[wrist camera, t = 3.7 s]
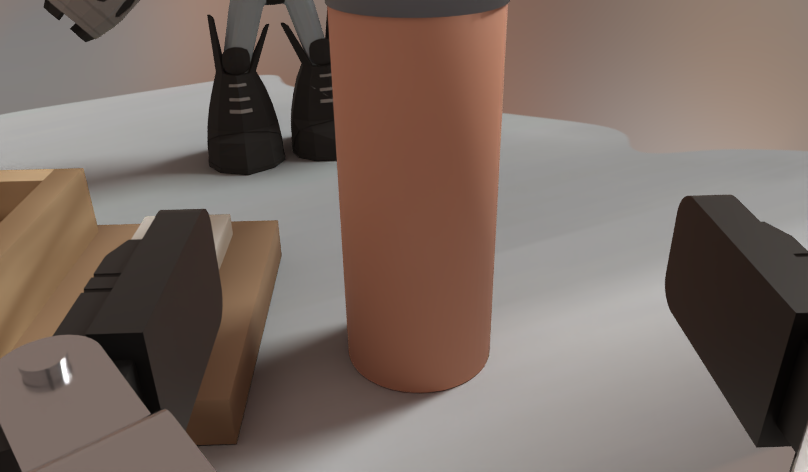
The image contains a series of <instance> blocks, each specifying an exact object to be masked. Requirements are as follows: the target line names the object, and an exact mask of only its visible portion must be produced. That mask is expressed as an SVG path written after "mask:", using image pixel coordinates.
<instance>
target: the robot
mask: <svg viewBox="0 0 808 472" xmlns="http://www.w3.org/2000/svg"><path fill="white" fill-rule="evenodd" d="M139 1H140V0H45V3H44V8H45V9H46V10H47V11H48V12H49V13H51V14H52V15H53V16H54V17H55V18H57V19H58V20H60V19H61V17H62V16H63V15H64V14H65V15H67V16H68V17H69V18H70V19H71V20H73V21H74V22H75V24H74V26H72V27H71V28H70V29H71V30H72V31H73V32H74V33H76V34H77V35H78V36H79V37H80V38H81V39H82V40H84V41H85V42H87V41H90V40H93V39H97V38H99V37H100V36H101V35H103V34H104V33H106V32H107V31H109V30H110V29H112V28H113V27H115V26H116V25H117V24H118V23H119V22H121V21H122V20H123V19H124V18H125V16H126V15H127V14H128V13H129V12H130V11H131V10H132V8H133V7H134V6H135V5H136V4H137V3H138V2H139ZM282 3H284V4H285V5H286V7H287V10H288V12H289V15H290V17H291V19H292V22H293V24H294V27H295V30H296V32H297V35H298V37H299V40H300V42H301V44H302V47H303V48H302V47H301V45H300V44H299V42H298V40H297V39H296V37H295V36H294V34H293V32H292V31H291V29H290V28H289V26H288V25H286V24H285V23H281V25H282V27H283V29H284V31H285V33H286V35H287V37H288V39H289V40H290V42H291V44H292V46H293V48H294V50H295V52H296V53H297V55H298V57H299V59H300V61H301V63H302V64H301V66H300V69H299V72H298V75H297V78H296V83H295V88H294V93H293V100H292V109H291V132H292V147H293V152H294V153H295V154H296V155H297V156H298V157H301V158H306V159H311V160H316V161H323V160H337V154H336V138H335V122H334V106H333V90H332V74H331V58H330V42H329V26H328V10H327V21H326V37H325V38H324V35H323V31H322V28H321V25H320V21H319V18H318V14H317V12H316V8H315V4H314V2H313V0H230V5H229V11H228V21H227V29H226V37H225V46H224V52H223V54H222V52H221V48H220V44H219V40H218V36H217V32H216V27H215V22H214V19H213V17H212V16H211V15H207V16H208V23H209V29H210V36H211V43H212V49H213V56H214V61H215V69H216V75H215V79H214V84H213V89H212V94H211V100H210V106H209V115H208V152H209V165H210V167H212V168H214V169H216V170H217V171H219V172H223V173H234V174H246V175H249V174H253V173H256V172H260V171H263V170H267V169H270V168H274V167H276V166H277V165H278V164H280V163H281V162H282V161H283V160H285V154H284V149H283V141H282V136H281V131H280V127H279V123H278V119H277V116H276V113H275V110H274V107H273V104H272V102H271V99H270V97H269V95H268V92H267V90H266V88H265V86H264V84H263V82H262V81H261V79H260V77H259V75H258V74H257V72H256V68H257V65H258V62H259V58H260V54H261V51H262V48H263V44H264V40H265V37H266V34H267V30H268V26H269V24H266V25H265V27H264V28H263V30H262V33H261V36H260V39H259V41H258V43H257V46H256V48H255V50H254V45H255V41H256V36H257V31H258V27H259V23H260V18H261V13H262V9H263V6H264V5H275V4H282ZM253 50H254V52H253Z"/></svg>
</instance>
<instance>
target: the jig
mask: <svg viewBox="0 0 808 472" xmlns="http://www.w3.org/2000/svg"><path fill="white" fill-rule="evenodd" d="M209 216H210V220H211V225H212V231H213V237H214V243H215V250H216V256H217V262H218V268H219V274H220V280H221V287H222V297H223V309H222V319H221V324H220V327H219V330H218V333H217V337H216V340H215V343H214V346H213V349H212V352H211V355H210V358H209V361H208V364H207V367H206V370H205V373H204V376H203V379H202V383H201V386H200V389H199V392H198V395H197V398H196V401H195V404H194V407H193V410H192V413H191V416H190V419H189V422H188V425H187V429H186V433H187V434H188V435H189V437H190V438H191V439H192V440H193V442H194V443H195V444H196V445H214V444H237V440H238V435H239V431H240V427H241V423H242V419H243V414H244V410H245V406H246V402H247V398H248V393H249V389H250V385H251V381H252V377H253V373H254V368H255V364H256V360H257V356H258V352H259V347H260V343H261V339H262V335H263V331H264V327H265V322H266V318H267V314H268V310H269V306H270V301H271V297H272V293H273V289H274V285H275V281H276V276H277V272H278V268H279V264H280V260H281V255H282V254H281V245H280V236H279V227H278V220H275V221H237V222H231V217H230V214H222V215H209ZM154 218H155V216H146V217H145V218H144V220H143V221H142V223H141V224H123V225H97V222H96V218H95V214H94V210H93V206H92V202H91V198H90V194H89V190H88V185H87V181H86V177H85V173H84V169H83V168H76V169H35V170H0V359H1V358H2V357H3V356H5V355H6V354H8V353H9V352H11V351H13V350H14V349H16V348H18V347H20V346H22V345H25V344H27V343H30V342H32V341H35V340H38V339H42V338H46V337H51V336H53V334H54V333H55V331H56V330H57V328H58V327H59V325H60V324H61V322H62V321H63V319H64V318H65V316H66V315H67V313H68V312H69V310H70V309H71V307H72V306H73V304H74V303H75V301H76V299H77V298H78V296H79V295H80V293H84V287H85V286H86V284H87V283H88V281H89V280H90V278H91V277H94V272H95V271H96V269H97V268H98V266H99V265H100V263H101V262H102V260H103V259H104V257H105V256H106V255H107V254H109V253H110V252H111V251H113V250H114V249H116V248H117V247H119V246H120V245H121V244H123V243H124V242H126V241H127V240H130V239H142V238H143V237H144V235H145V233H146V232H147V230H148V228H149V227H150V225H151V223H152V221H153V220H154Z"/></svg>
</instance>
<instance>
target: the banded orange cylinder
mask: <svg viewBox="0 0 808 472" xmlns="http://www.w3.org/2000/svg"><path fill="white" fill-rule="evenodd" d="M509 1H510V0H325V4H326V5H327V10H328V26H329V42H330V58H331V74H332V90H333V106H334V122H335V138H336V154H337V170H338V187H339V203H340V219H341V235H342V251H343V267H344V283H345V299H346V315H347V331H348V347H349V356H350V360H351V362H352V364H353V366H354V367H355V368H356V370H357V371H358V372H359V373H360V374H361V375H363V376H364V377H365V378H367V379H368V380H370V381H372V382H373V383H375V384H378V385H380V386H382V387H385V388H389V389H392V390H397V391H402V392H411V393H427V392H436V391H442V390H446V389H450V388H453V387H456V386H458V385H461V384H463V383H465V382H467V381H468V380H470V379H471V378H473V377H474V376H476V375H477V374H478V373H479V372H480V371H481V370H482V368H483V367H484V366H485V364H486V362H487V360H488V357H489V350H490V332H491V313H492V293H493V274H494V255H495V236H496V217H497V198H498V179H499V160H500V141H501V122H502V103H503V102H502V101H503V82H504V64H505V45H506V24H507V7H508V2H509Z"/></svg>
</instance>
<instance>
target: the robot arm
mask: <svg viewBox="0 0 808 472" xmlns="http://www.w3.org/2000/svg"><path fill="white" fill-rule="evenodd" d="M665 292H666V299H667V303H668V306H669V309H670V311H671V313H672V314H673V316H674V317H675V319H676V321H677V322H678V324H679V325H680V327H681V328H682V330H683V332H684V333H685V335H686V336H687V338H688V340H689V341H690V343H691V344H692V346H693V347H694V349H695V351H696V352H697V354H698V355H699V357H700V359H701V360H702V362H703V363H704V365H705V366H706V368H707V370H708V371H709V373H710V374H711V376H712V378H713V379H714V381H715V382H716V384H717V386H718V387H719V389H720V390H721V392H722V393H723V395H724V397H725V398H726V400H727V401H728V403H729V405H730V406H731V408H732V409H733V411H734V412H735V414H736V416H737V417H738V419H739V420H740V422H741V424H742V425H743V427H744V428H745V430H746V432H747V433H748V435H749V436H750V438H751V439H752V441H753V443H754V444H755V446H756V447H783V446H792V448H793V449H794V451H795V455H794V458H793V462H792V464H791V467H790V471H789V472H808V251H807V250H806V249H805V248H804V247H803V246H802V245H801V244H800V243H799V242H798V241H797V240H796V239H795V238H793V237H792V236H791V235H789V234H787V233H785V232H783V231H781V230H779V229H777V228H775V227H773V226H771V225H769V224H768V223H766V222H760V221H759V220H758V219H757V218H756V217H755V216H754V215H753V214H752V213H751V212H750V211H749V210H748V209H747V208H746V207H745V206H744V205H743V204H742V203H741V202H740V201H739V200H738V199H737V198H736V197H734V196H733V195H702V196H686V197H684V198H683V199H682V201H681V202H680V205H679V208H678V211H677V217H676V222H675V227H674V233H673V238H672V244H671V249H670V254H669V260H668V265H667V271H666V277H665ZM222 309H223V297H222V287H221V280H220V274H219V268H218V262H217V256H216V250H215V243H214V237H213V231H212V225H211V220H210V216H209V214H208V212H207V210H206V209H183V210H160V211H159V212H158V213H157V215H156V216H155V218H154V220H153V221H152V223H151V225H150V227H149V228H148V230H147V232H146V233H145V235H144V237H143V238H142V239H130V240H127V241H126V242H124V243H123V244H121V245H120V246H119V247H117V248H116V249H114V250H113V251H111V252H110V253H109V254H107V255H106V256H105V257H104V259H103V260H102V262H101V263H100V265H99V266H98V268H97V269H96V271H95V272H94V277H91V278H90V280H89V281H88V283H87V284H86V286H85V287H84V293H80V295H79V296H78V298H77V299H76V301H75V303H74V304H73V306H72V307H71V309H70V310H69V312H68V313H67V315H66V316H65V318H64V319H63V321H62V322H61V324H60V325H59V327H58V328H57V330H56V331H55V333H54V334H53V336H51V337H46V338H42V339H38V340H35V341H32V342H30V343H27V344H25V345H22V346H20V347H18V348H16V349H14V350H13V351H11V352H9V353H8V354H6V355H5V356H3V357H2V358H1V359H0V472H216V470H215V469H214V468H213V466H212V465H211V464H210V462H209V461H208V460H207V459H206V457H205V456H204V455H203V453H202V452H201V451H200V450H199V448H198V447H197V446H196V444H195V443H194V442H193V440H192V439H191V438H190V437H189V435H188V434H187V433H186V429H187V425H188V422H189V419H190V416H191V413H192V410H193V407H194V404H195V401H196V398H197V395H198V392H199V389H200V386H201V383H202V379H203V376H204V373H205V370H206V367H207V364H208V361H209V358H210V355H211V352H212V349H213V346H214V343H215V340H216V337H217V333H218V330H219V327H220V324H221V319H222Z"/></svg>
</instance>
